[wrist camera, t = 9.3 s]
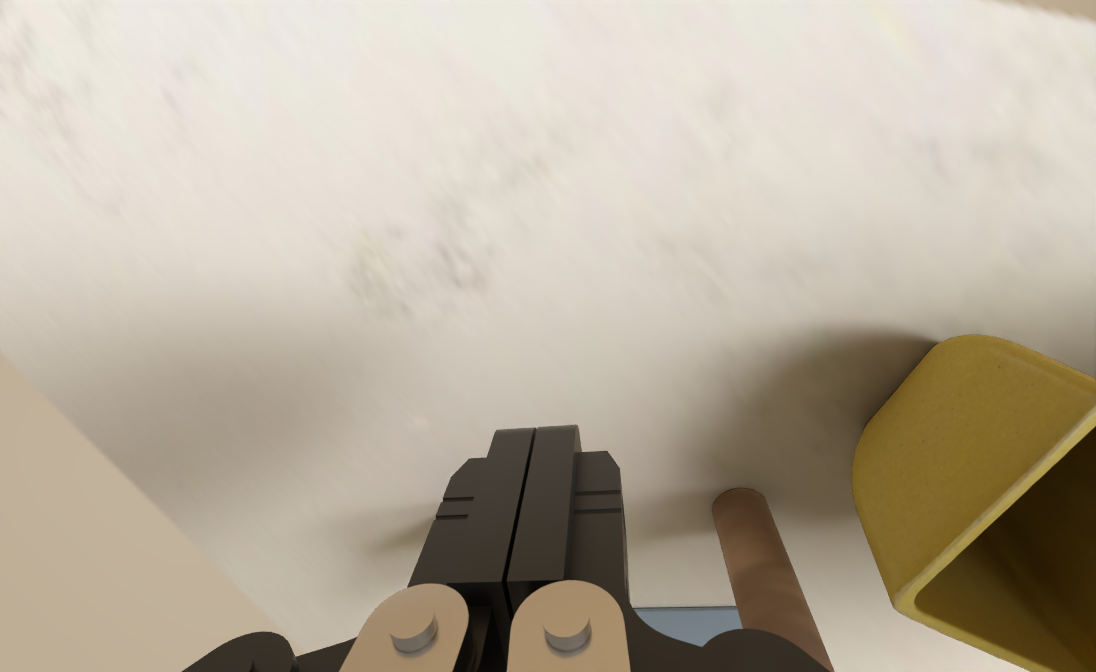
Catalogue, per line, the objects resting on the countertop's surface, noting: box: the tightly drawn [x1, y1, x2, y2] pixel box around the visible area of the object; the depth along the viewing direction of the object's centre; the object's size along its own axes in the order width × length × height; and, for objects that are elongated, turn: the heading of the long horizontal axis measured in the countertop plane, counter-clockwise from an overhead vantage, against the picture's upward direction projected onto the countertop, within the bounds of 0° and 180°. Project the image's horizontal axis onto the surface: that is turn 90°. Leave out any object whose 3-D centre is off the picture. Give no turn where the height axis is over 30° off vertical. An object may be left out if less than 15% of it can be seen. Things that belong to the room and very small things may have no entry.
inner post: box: [712, 488, 834, 672], centre depth 23 cm, size 3×3×9 cm
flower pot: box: [851, 335, 1096, 672], centre depth 20 cm, size 9×9×9 cm
